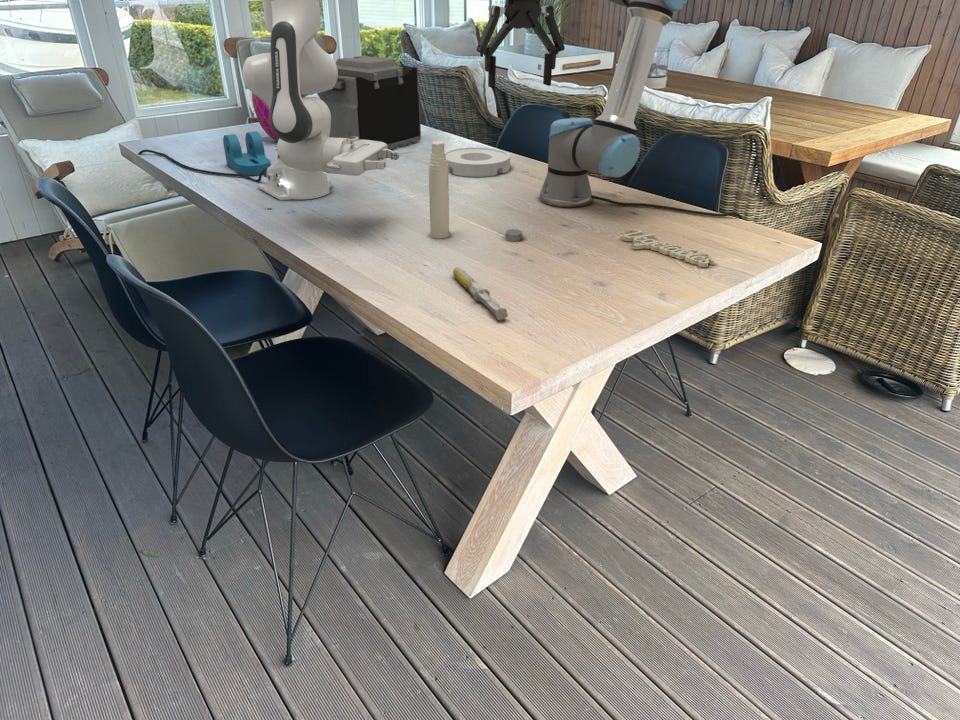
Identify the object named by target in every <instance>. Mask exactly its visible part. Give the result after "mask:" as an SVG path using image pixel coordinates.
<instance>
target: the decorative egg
mask: <svg viewBox="0 0 960 720" xmlns="http://www.w3.org/2000/svg"><path fill="white" fill-rule="evenodd" d="M301 97H306V94H301ZM251 101H252V107H253V110H254V114H255V116H256V118H257V121H258V123H259V125H260V127H261V128H262V130H263V131H264V133H266V135H267V136H268V137H270V138H271V139H273V140H275V141H278V140H279V137H278V136H277V135H276V134H275V133H274V131H273V130H272V127H271V125H270V121H269V112H270V108H269V107H268V105H267V104H266V103H265V102H264V101H263V100H262V99H261V98H259V97H258V96H256V95H255V94H253V93H252V92H251Z"/></svg>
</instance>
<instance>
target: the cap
mask: <svg viewBox="0 0 960 720" xmlns="http://www.w3.org/2000/svg"><path fill="white" fill-rule="evenodd" d="M505 239H506V240H507V241H509V242H520V241H521V240H522V239H523V231H522V230H521V229H517V228H511V229H507V230H506V231H505Z"/></svg>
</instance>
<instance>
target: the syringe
mask: <svg viewBox="0 0 960 720" xmlns="http://www.w3.org/2000/svg"><path fill="white" fill-rule="evenodd" d="M452 274H453V277H454V279H455V280H457V281H458V282H459V283H460V285H462V287H464V289H466V290H467V291H468V293H470V295H471V296H472V298H473V300H474V302H477V303H478V302H480V303H482V304H483V305H484V306H485V307H486V308H487V309H488V310H489V311H490V312H491V313H492V314H493V315H494V316H495V317H496V320H497V321H503V320H504V319H506V318H507V317H509V314H508V310H507V308H506V307H502V306H501V305H500V303H498V302H497V301H496V300H494V299H493V298H492V297H491V296H490V295H491V293H490V290H488V289H486V288H483V287H482V286H481V285H480V284H479V283H478V282H477V281H476V280H474V278H473V277H471V275H469V274H468V273H467V272H466V270H465V269H464V268H463V267H462V266H456V267H454V268H453V271H452Z"/></svg>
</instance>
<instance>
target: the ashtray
mask: <svg viewBox="0 0 960 720" xmlns="http://www.w3.org/2000/svg"><path fill="white" fill-rule="evenodd" d="M444 153H445V156H446V159H447V163H448V173H452V174H453V175H455V176H460V177H461V176H462V177H472V178H473V177H474V178H478V177H479V178H481V177H483V178H485V177H494V176H497V175H498V174H505V173H507V172H509V171H510V169H511V154H510V153H509V152H507V151H505V150H503V149H502V150H501V149H499V148H498V149H497V148H492V147H482V146H481V147H480V146H467V147H457V148H451V149H448V150H446V151H444Z"/></svg>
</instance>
